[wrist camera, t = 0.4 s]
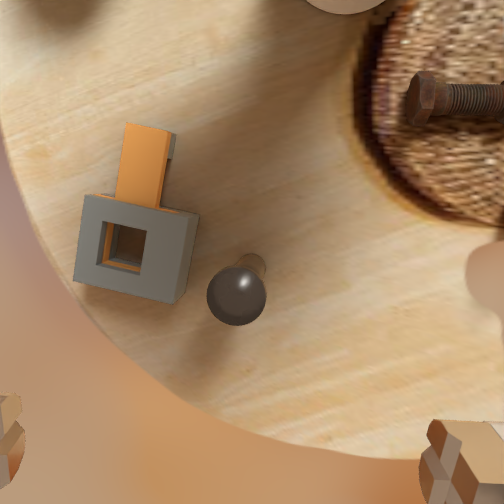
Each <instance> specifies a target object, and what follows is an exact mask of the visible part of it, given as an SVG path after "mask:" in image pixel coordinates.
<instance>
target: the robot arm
mask: <svg viewBox="0 0 504 504" xmlns="http://www.w3.org/2000/svg"><path fill="white" fill-rule="evenodd" d="M307 1H308V2H309V3H310V4H312V5H313V6H315V7H317V8H319V9H321V10H324V11H327V12H330V13H335V14H354V13H359V12H363V11H366V10H369V9H371V8H373V7H375V6H377V5H379V4H380V3H382V2H383V1H385V0H307ZM21 412H22V405H21V399H20V396H18V395H17V394H16V393H9V392H0V489H1V488H3V487H4V486H6V485H7V484H9V483H10V482H11V481H12V479H13V477H14V476H15V474H16V472H17V471H18V469H19V466H20V463H21V460H22V458H23V455H24V449H25V431H24V429H23V428H22V427H21V426H20V425H19V423H18V422H17V421H16V419H17V418H18V416H19V415H20V414H21ZM426 436H427V438H428V440H429V441H430V443H431V446H430V447H428V448H427V449H426V450H425V451H424V452H423V453H422V454H421V459H420V464H419V481H420V486H421V490H422V494H423V496H424V498H425V501H426V503H427V504H504V422H492V421H483V422H475V421H457V420H439V419H433V421H432V422H431V423H430V425H429V427H428V431H427V435H426Z"/></svg>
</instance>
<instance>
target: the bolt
mask: <svg viewBox="0 0 504 504" xmlns="http://www.w3.org/2000/svg"><path fill="white" fill-rule="evenodd" d="M443 114H444V115H446V114H447V115H485V116H486V115H489V116H490V115H491V116H493V115H494V118H495V119H496V120H497V121H498V122H500V123H502V124H504V81H503V82H502V83H501V84H500V85H498V84H496V85H495V84H493V85H492V84H490V85H489V84H473V85H472V84H470V85H469V84H467V85H466V84H446V83H437V82H436V79H435V78H434V76H433V75H432V74H431V73H430V72H429V71H418V72H417V73H416V74H415V75H414V77H413V78H412V80H411V82H410V86H409V90H408V94H407V102H406V116H407V121H408V122H409V123H410V124H411V125H413V126H425V124H426V122H427V120H428V118H429V116H430V115H443Z"/></svg>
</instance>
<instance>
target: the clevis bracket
mask: <svg viewBox="0 0 504 504" xmlns="http://www.w3.org/2000/svg"><path fill="white" fill-rule="evenodd" d="M175 139H176V134H173V133H171V132H169V131H165V130H160V129H155V128H150V127H146V126H141V125H136V124H131V123H126V128H125V134H124V141H123V147H122V154H121V160H120V167H119V173H118V180H117V187H116V193H115V196H113V195H109V194H101V195H100V194H93V195H85V198H84V205H83V212H82V219H81V226H80V233H79V240H78V247H77V255H76V262H75V269H74V276H73V281H75V282H80V283H84V284H88V285H92V286H96V287H101V288H105V289H109V290H113V291H118V292H122V293H126V294H130V295H134V296H139V297H143V298H147V299H151V300H155V301H160V302H164V303H168V304H172V305H173V304H174V303H175V302H176V301H177V300H178V299H179V298H180V297H181V296H182V295H183V294H184V293H185V289H186V284H187V279H188V274H189V268H190V263H191V258H192V253H193V247H194V242H195V237H196V231H197V226H198V221H199V216H200V215H199V214H194V213H190V212H185V211H181V210H176V209H172V208H167V207H163V206H159V203H160V198H161V192H162V186H163V180H164V174H165V168H166V163H167V158H169V159H172V157H173V151H174V145H175ZM120 225H124V226H128V227H132V228H137V229H141V230H146V231H147V235H146V241H145V246H144V252H143V258H142V264H140V263H136V262H132V261H128V260H123V259H119V258H115V256H116V249H117V243H118V237H119V230H120Z"/></svg>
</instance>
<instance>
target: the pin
mask: <svg viewBox="0 0 504 504" xmlns="http://www.w3.org/2000/svg"><path fill="white" fill-rule="evenodd" d="M265 270H266V266H265V263H264V261H263V259H262V258H261V257H259V256H258V255H255V254H248V255H245V256H243V257H242V258H241V259H240V260H239V262H238V263H237V264H236V265H234V266H229V267H226V268H224V269H222V270H221V271H219V272H218V273H217V274H216V275H215V276H214V278H213V279H212V280H211V282H210V284H209V286H208V289H207V302H208V306H209V308H210V310H211V312H212V313H213V314H214V316H215V317H216V318H218V319H219V320H220V321H222V322H224V323H226V324H229V325H234V326H240V325H245V324H248V323H250V322H252V321H254V320H255V319H256V318H257V317H258V316H259V315H260V314H261V312H262V311H263V309H264V306H265V302H266V297H267V292H266V286H265V284H264V281H263V277H264V274H265Z"/></svg>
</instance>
